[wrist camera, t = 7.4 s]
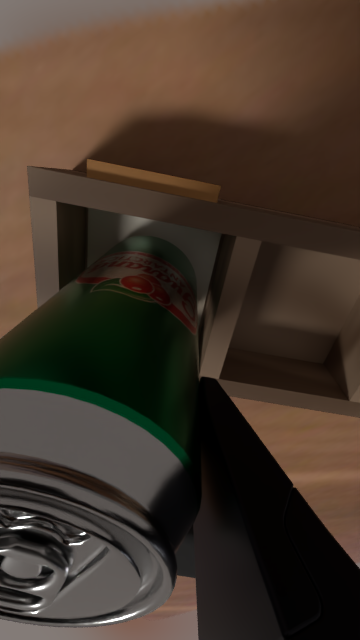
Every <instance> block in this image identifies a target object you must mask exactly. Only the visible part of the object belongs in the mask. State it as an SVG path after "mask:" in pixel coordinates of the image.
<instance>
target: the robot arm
mask: <svg viewBox="0 0 360 640" xmlns="http://www.w3.org/2000/svg"><path fill="white" fill-rule="evenodd" d="M199 391H200V431H201V472H202V499H201V506H200V510H199V513H198V515H197V517H196V519H195V522H194V523H193V531H194V552H195V574H196V595H197V616H198V636H199V640H360V569H359V567H358V566H357V565H356V564H355V563H354V561H353V560H352V559H351V558H350V556H349V555H348V554H347V553H346V552H345V550H344V549H343V548H342V547H341V546H340V544H339V543H338V542H337V541H336V539H335V538H334V537H333V536H332V535H331V533H330V532H329V531H328V530H327V528H326V527H325V526H324V524H323V523H322V522H321V520H320V519H319V518H318V516H317V515H316V514H315V513H314V511H313V510H312V509H311V507H310V506H309V505H308V503H307V502H306V501H305V499H304V498H303V497H302V495H301V494H300V492H299V491H298V490H297V488H295V487H294V488H293V483H292V482H291V480H290V479H289V478H288V476H287V475H286V474H285V472H284V471H283V470H282V468H281V467H280V465H279V464H278V463H277V461H276V460H275V459H274V457H273V456H272V455H271V453H270V452H269V450H268V449H267V448H266V446H265V445H264V444H263V442H262V441H261V440H260V438H259V437H258V435H257V434H256V433H255V431H254V430H253V429H252V427H251V426H250V425H249V423H248V422H247V421H246V419H245V418H244V416H243V415H242V414H241V412H240V411H239V410H238V408H237V407H236V406H235V404H234V403H233V401H232V400H231V399H230V397H229V396H228V395H227V393H226V392H225V391H224V389H223V388H222V386H221V385H220V384H219V382H218V381H217V380H216V379H215V378H211V377H205V376H202V377H201V378H200V381H199Z"/></svg>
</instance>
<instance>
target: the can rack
mask: <svg viewBox="0 0 360 640" xmlns="http://www.w3.org/2000/svg"><path fill="white" fill-rule="evenodd" d="M27 172H28V185H29V198H30V212H31V225H32V238H33V251H34V264H35V278H36V291H37V304H38V308H39V307H40V306H41V305H42V304H44V303H45V302H46V301H47V300H49V299H50V298H51V297H52V296H53V295H55V294H56V293H57V292H58V291H60V290H61V289H62V288H63V287H64V286H66V285H67V284H68V283H69V282H71V281H72V280H73V279H74V278H76V277H77V276H78V275H79V274H80V273H82V272H83V271H84V270H85V269H87V268H88V267H89V266H90V265H91V264H93V263H94V262H95V261H96V260H98V259H99V258H100V257H101V256H102V255H104V254H105V253H106V252H107V251H109V250H110V249H111V248H112V247H114V246H115V245H116V244H118V243H119V242H121V241H123V240H125V239H128V238H131V237H135V236H153V237H158V238H161V239H164V240H166V241H168V242H170V243H172V244H173V245H175V246H176V247H178V248H179V249H180V250H181V251H182V252H183V253H184V254H185V255H186V256H187V258H188V259H189V261H190V262H191V264H192V267H193V269H194V271H195V275H196V281H197V309H198V350H199V381H200V378H201V377H202V376H205V377H211V378H215V379H216V380H217V381H218V382H219V384H220V385H221V386H222V388H223V389H224V391H225V392H226V393H227V395H228V396H231V397H238V398H244V399H250V400H256V401H262V402H268V403H274V404H280V405H286V406H292V407H298V408H304V409H310V410H316V411H322V412H328V413H334V414H341V415H347V416H353V417H359V418H360V227H356V226H351V225H346V224H341V223H336V222H331V221H326V220H321V219H316V218H311V217H306V216H300V215H295V214H290V213H285V212H280V211H275V210H270V209H265V208H260V207H255V206H250V205H245V204H240V203H235V202H230V201H225V200H220V199H218V196H219V192H220V187H221V186H220V185H215V184H210V183H205V182H200V181H195V180H190V179H185V178H180V177H175V176H170V175H165V174H160V173H155V172H150V171H145V170H140V169H135V168H130V167H125V166H120V165H115V164H110V163H105V162H100V161H96V160H91V159H87V173H84V172H79V171H74V170H67V169H56V168H44V167H33V166H27Z"/></svg>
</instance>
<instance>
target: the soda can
mask: <svg viewBox="0 0 360 640" xmlns="http://www.w3.org/2000/svg"><path fill="white" fill-rule="evenodd" d="M201 499H202V472H201V431H200V391H199V350H198V309H197V281H196V275H195V271H194V269H193V267H192V264H191V262H190V261H189V259H188V258H187V256H186V255H185V254H184V253H183V252H182V251H181V250H180V249H179V248H178V247H176V246H175V245H173V244H172V243H170V242H168V241H166V240H164V239H161V238H158V237H153V236H135V237H131V238H128V239H125V240H123V241H121V242H119V243H118V244H116V245H115V246H114V247H112V248H111V249H110V250H109V251H107V252H106V253H105V254H104V255H102V256H101V257H100V258H99V259H98V260H96V261H95V262H94V263H93V264H91V265H90V266H89V267H88V268H87V269H85V270H84V271H83V272H82V273H80V274H79V275H78V276H77V277H76V278H74V279H73V280H72V281H71V282H69V283H68V284H67V285H66V286H64V287H63V288H62V289H61V290H60V291H58V292H57V293H56V294H55V295H53V296H52V297H51V298H50V299H49V300H47V301H46V302H45V303H44V304H42V305H41V306H40V307H39V308H38V309H36V310H35V311H34V312H33V313H31V314H30V315H29V316H28V317H26V318H25V319H24V320H23V321H22V322H20V323H19V324H18V325H17V326H15V327H14V328H13V329H12V330H11V331H9V332H8V333H7V334H6V335H4V336H3V337H2V338H1V339H0V619H4V620H8V621H14V622H19V623H25V624H33V625H41V626H53V627H96V626H106V625H111V624H117V623H122V622H126V621H129V620H133V619H136V618H139V617H142V616H144V615H146V614H149V613H151V612H153V611H154V610H156V609H157V608H159V607H160V606H162V605H163V604H164V603H165V602H166V601H167V600H168V598H169V597H170V596H171V593H172V591H173V589H174V587H175V583H176V579H177V568H178V567H177V559H176V555H175V554H176V553H177V551H178V549H179V547H180V545H181V544H182V542H183V540H184V538H185V537H186V535H187V533H188V532H189V530H190V528H191V527H192V525H193V523H194V522H195V519H196V517H197V515H198V513H199V510H200V506H201Z"/></svg>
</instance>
